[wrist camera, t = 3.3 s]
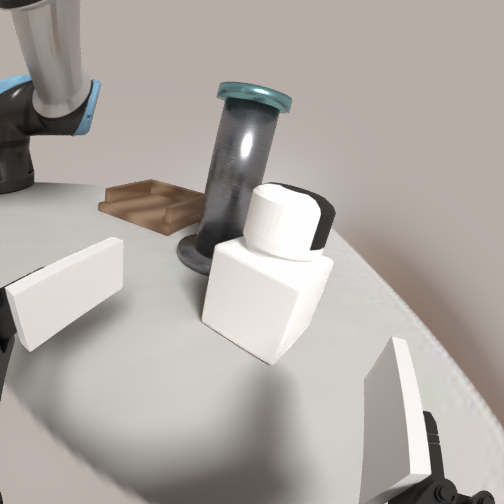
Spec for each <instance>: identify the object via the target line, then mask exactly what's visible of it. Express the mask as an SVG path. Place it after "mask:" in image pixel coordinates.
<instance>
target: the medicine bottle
mask: <svg viewBox="0 0 504 504" xmlns="http://www.w3.org/2000/svg"><path fill="white" fill-rule="evenodd" d="M335 214H336V213H335V210H334V207H333V206H332V205H331V204H330V203H329V202H328V201H327V200H326V199H325V198H323V197H322V196H320V195H318V194H315V193H313V192H310V191H308V190H304V189H301V188H298V187H295V186H291V185H286V184H281V183H273V182H270V183H265V184H260V185H258V186H257V187H255V188H254V189H253V193H252V197H251V201H250V206H249V210H248V214H247V218H246V222H245V226H244V231H243V235H244V236H242V237H239V238H236V239H232V240H229V241H226V242H223V243H219V244H217V245H216V246H215V248H214V253H213V258H212V263H211V268H210V274H209V279H208V284H207V290H206V295H205V301H204V307H203V313H202V322H203V323H204V324H206V325H207V326H209V327H210V328H212V329H213V330H215V331H216V332H218V333H219V334H221V335H222V336H224V337H226V338H227V339H229V340H230V341H232V342H233V343H235V344H236V345H238V346H240V347H241V348H243V349H244V350H246V351H248V352H249V353H251V354H253V355H254V356H256V357H258V358H259V359H261V360H263V361H264V362H266V363H268V364H269V365H274V364H275V363H276V362H277V361H278V360H279V359H280V358H281V357H282V356H283V355H284V354H285V352H286V351H287V350H288V349H289V348H290V347H291V346H292V345H293V343H294V342H295V341H296V340H297V339H298V338H299V336H300V335H301V334H302V333H303V332H304V331H305V329H306V328H307V327H308V326H309V323H310V321H311V319H312V316H313V314H314V312H315V309H316V307H317V305H318V302H319V300H320V297H321V295H322V292H323V290H324V287H325V285H326V282H327V280H328V277H329V274H330V272H331V269H332V267H333V260H332V259H330V258H328V257H326V256H323V255H322V252H323V250H324V247H325V244H326V241H327V238H328V235H329V232H330V229H331V226H332V223H333V220H334V217H335Z"/></svg>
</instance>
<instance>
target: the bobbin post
mask: <svg viewBox="0 0 504 504" xmlns="http://www.w3.org/2000/svg"><path fill="white" fill-rule="evenodd" d="M217 98H219V99H221V100H224V101H225V103H224V107H223V111H222V115H221V120H220V124H219V128H218V132H217V137H216V141H215V146H214V150H213V155H212V159H211V164H210V169H209V174H208V179H207V184H206V189H205V194H204V199H203V204H202V209H201V215H200V220H199V226H198V232H197V234H194V235H189V236H186V237H184V238H183V239H181V240H180V242H179V245H178V257H179V259H180V260H181V261H182V263H184V264H185V265H186V266H187V267H189V268H190V269H192V270H194V271H196V272H199V273H201V274H204V275H208V276H209V274H210V268H211V263H212V258H213V253H214V248H215V246H216V245H217V244H219V243H223V242H226V241H229V240H232V239H236V238H239V237H242V236H244V235H243V231H244V226H245V222H246V218H247V214H248V210H249V206H250V201H251V197H252V193H253V189H254V188H255V187H257V186H258V185H260V184H262V179H263V176H264V172H265V168H266V163H267V160H268V156H269V152H270V148H271V144H272V140H273V136H274V132H275V128H276V125H277V121H278V116H279V113H289V111H290V107H291V103H292V98H291V97H289V96H288V95H286V94H283V93H281V92H278V91H276V90H273V89H270V88H266V87H262V86H258V85H253V84H248V83H240V82H222V83H220V85H219V89H218V93H217Z"/></svg>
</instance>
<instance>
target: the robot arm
mask: <svg viewBox="0 0 504 504" xmlns="http://www.w3.org/2000/svg"><path fill="white" fill-rule="evenodd" d="M0 9H1V10H5V11H11V13H12V17H13V21H14V25H15V29H16V33H17V36H18V39H19V43H20V46H21V50H22V53H23V56H24V59H25V62H26V65H27V68H28V70H29V73H30V74H29V75H19V76H14V77H10V78H7V79H4V80H2V81H0V193H7V192H12V191H17V190H20V189H24V188H26V187H29V186H30V185H32V184H33V183H34V169H33V165H32V160H31V155H30V151H29V143H30V136H32V135H33V136H35V135H71V136H75V135H85V134H87V133H88V132H89V130H90V126H91V123H92V118H93V114H94V110H95V106H96V102H97V98H98V94H99V91H100V86H101V83H100V81H96V80H90V76H89V74H88V72H87V71H86V70H85V69H84V68H83V67H81V52H80V0H0ZM123 243H124V241H123V240H120V239H118V238H115V237H110V238H108V239H106V240H103V241H101V242H99V243H96V244H94V245H92V246H90V247H87V248H85V249H83V250H81V251H78V252H76V253H74V254H72V255H70V256H67V257H65V258H63V259H61V260H59V261H57V262H55V263H52V264H50V265H48V266H46V267H42V268H39V269H37V270H35V271H33V273H29V274H27V275H26V276H23V277H21V278H19V279H17V280H16V281H14V282H12V283H10V284H8V285H6V286H4V287H2V288H0V400H1V395H2V389H3V384H4V380H5V375H6V371H7V367H8V363H9V359H10V356H11V352H12V348H13V345H14V340H15V338H14V334H15V333H18V336H19V339H20V342H21V343H22V344H23V346H24V347H25V348H26V349H27V350H28V351H29V352H31V351H33V350H34V349H35V348H37V347H38V346H39V345H41V344H42V343H44V342H45V341H46V340H48V339H49V338H50V337H52V336H53V335H55V334H56V333H57V332H59V331H60V330H62V329H63V328H64V327H66V326H67V325H69V324H70V323H72V322H73V321H74V320H76V319H77V318H79V317H80V316H82V315H83V314H85V313H86V312H87V311H89V310H90V309H92V308H93V307H95V306H96V305H98V304H99V303H101V302H102V301H104V300H105V299H107V298H108V297H110V296H111V295H113V294H114V293H116V292H117V291H119V290H120V289H122V288H123ZM437 435H438V430H437V425H436V422H435V420H434V418H433V416H432V414H431V413H430V412H427V411H423V410H422V405H421V400H420V395H419V390H418V385H417V381H416V377H415V372H414V368H413V364H412V360H411V357H410V353H409V349H408V345H407V342H406V340H403V339H400V338H396V337H393V336H391V338H390V340H389V342H388V343H387V345H386V347H385V348H384V350H383V351H382V353H381V355H380V356H379V358H378V359H377V361H376V363H375V364H374V366H373V367H372V369H371V370H370V372H369V373H368V375H367V376H366V378H365V379H364V447H363V465H362V477H361V488H360V497H359V504H384V503H386V502H388V504H495V501H494V498H493V496H492V494H491V493H489V492H488V491H484V490H483V491H480V492H478V493H477V494H475V495H474V496H472V497H469V496H465V495H462V494H459V493H457V489H456V487H455V485H454V484H453V483H452V481H450V480H448V479H445V477H444V470H443V461H442V454H441V448H440V445H439V443H440V441H439V436H437ZM0 504H3V501H2V495H1V493H0Z"/></svg>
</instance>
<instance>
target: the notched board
mask: <svg viewBox="0 0 504 504" xmlns="http://www.w3.org/2000/svg"><path fill="white" fill-rule="evenodd" d="M203 199H204V193H200V192H196V191H193V190H189V189H186V188H182V187H178V186H175V185H171V184H167V183H163V182H159V181H156V180H152V179H151V180H146V181H140V182H135V183H130V184H125V185H120V186H115V187H110V188H106V194H105V201H104V202H100V203H99V204H98V210H99V211H102V212H105V213H107V214H110V215H113V216H115V217H118V218H121V219H123V220H126V221H129V222H132V223H134V224H137V225H140V226H143V227H145V228H148V229H151V230H153V231H156V232H159V233H162V234H165V235H167V236H168V235H170V234H172V233H174V232H176V231H178V230H180V229H182V228H184V227H186V226H188V225H190V224H192V223H194V222H197V221H199V220H200V215H201V209H202V204H203Z"/></svg>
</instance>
